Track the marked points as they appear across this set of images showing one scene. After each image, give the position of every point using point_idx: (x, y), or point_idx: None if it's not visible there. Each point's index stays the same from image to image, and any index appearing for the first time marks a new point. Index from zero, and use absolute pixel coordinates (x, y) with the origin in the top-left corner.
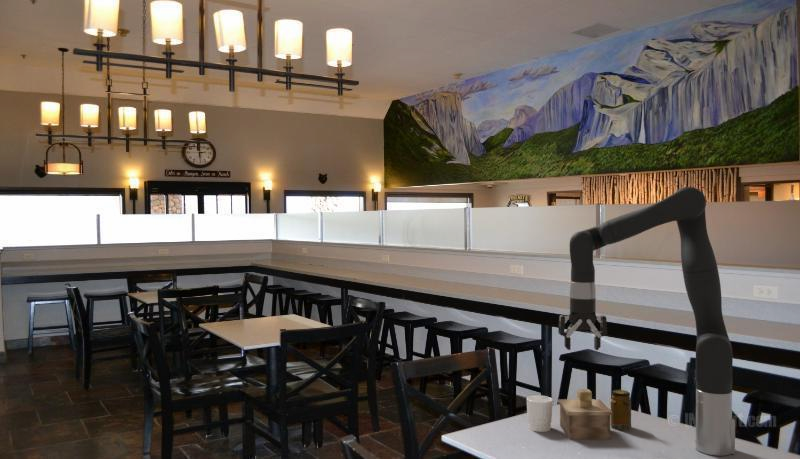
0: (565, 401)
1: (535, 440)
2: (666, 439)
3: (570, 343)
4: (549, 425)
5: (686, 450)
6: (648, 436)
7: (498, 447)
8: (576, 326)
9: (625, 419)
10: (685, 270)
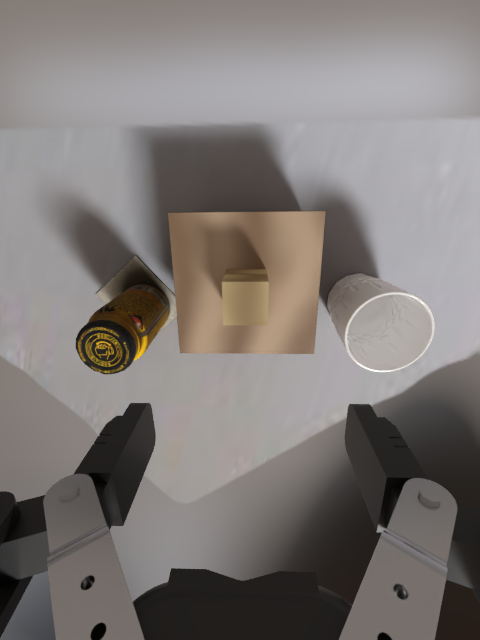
0: (296, 332)
1: (391, 223)
2: (44, 235)
3: (366, 435)
4: (339, 288)
5: (4, 146)
6: (86, 257)
7: None
8: (377, 628)
9: (126, 292)
10: None
